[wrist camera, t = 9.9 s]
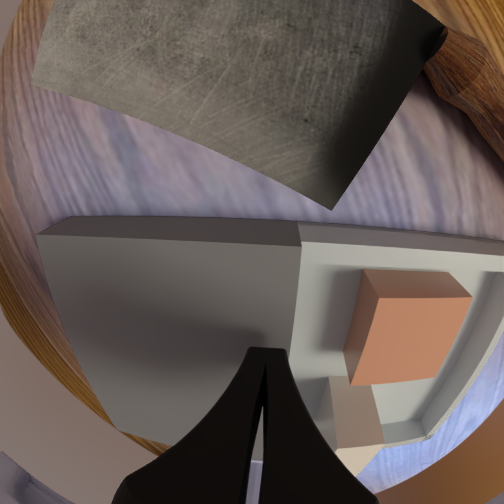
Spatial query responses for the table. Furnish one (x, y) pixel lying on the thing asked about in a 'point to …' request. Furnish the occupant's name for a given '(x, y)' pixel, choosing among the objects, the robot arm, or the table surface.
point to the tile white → (350, 422)
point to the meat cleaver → (269, 76)
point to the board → (170, 309)
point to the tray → (343, 303)
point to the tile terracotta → (403, 325)
